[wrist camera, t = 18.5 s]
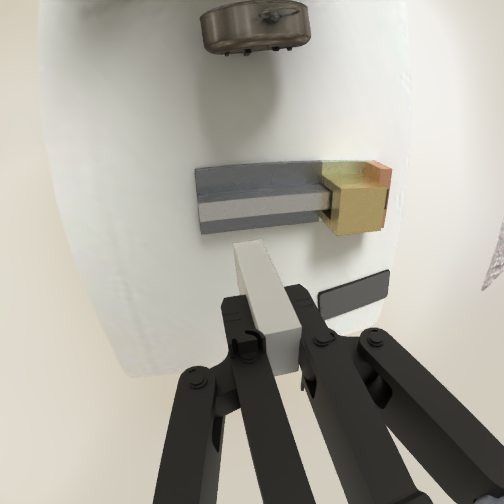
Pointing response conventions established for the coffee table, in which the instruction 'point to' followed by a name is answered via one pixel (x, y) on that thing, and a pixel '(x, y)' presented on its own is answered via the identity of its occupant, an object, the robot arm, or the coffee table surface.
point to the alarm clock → (255, 27)
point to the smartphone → (353, 294)
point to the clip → (354, 203)
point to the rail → (259, 181)
